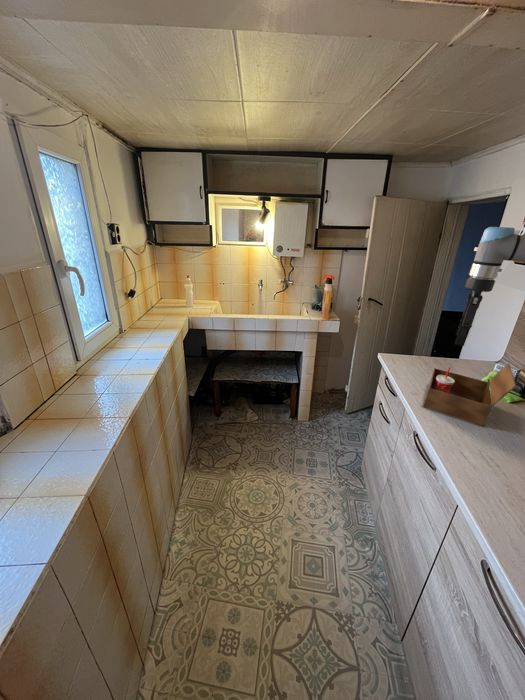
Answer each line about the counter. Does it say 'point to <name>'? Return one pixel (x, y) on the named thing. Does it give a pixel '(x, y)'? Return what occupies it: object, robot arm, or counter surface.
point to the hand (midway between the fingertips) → (459, 340)
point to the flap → (501, 384)
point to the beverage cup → (444, 383)
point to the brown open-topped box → (460, 398)
